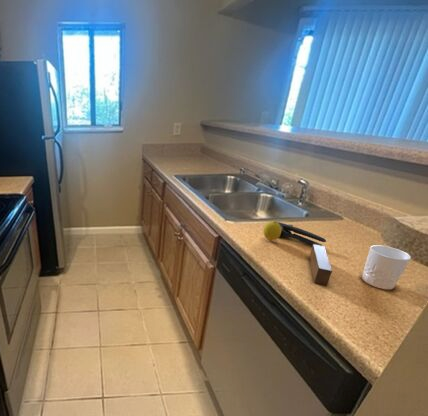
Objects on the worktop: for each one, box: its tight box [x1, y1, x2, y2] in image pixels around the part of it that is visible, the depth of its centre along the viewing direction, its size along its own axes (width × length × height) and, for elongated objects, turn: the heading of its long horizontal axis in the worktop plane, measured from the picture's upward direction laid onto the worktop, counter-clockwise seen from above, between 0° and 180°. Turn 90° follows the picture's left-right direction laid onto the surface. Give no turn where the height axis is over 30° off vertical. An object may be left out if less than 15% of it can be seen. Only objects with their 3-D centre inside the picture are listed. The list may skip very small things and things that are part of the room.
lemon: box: [263, 220, 281, 242], centre depth 101 cm, size 6×6×8 cm
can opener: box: [276, 221, 327, 246], centre depth 102 cm, size 18×7×6 cm, turn 39°
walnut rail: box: [308, 244, 333, 287], centre depth 84 cm, size 3×16×5 cm, turn 149°
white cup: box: [361, 244, 412, 290], centre depth 77 cm, size 8×8×10 cm
